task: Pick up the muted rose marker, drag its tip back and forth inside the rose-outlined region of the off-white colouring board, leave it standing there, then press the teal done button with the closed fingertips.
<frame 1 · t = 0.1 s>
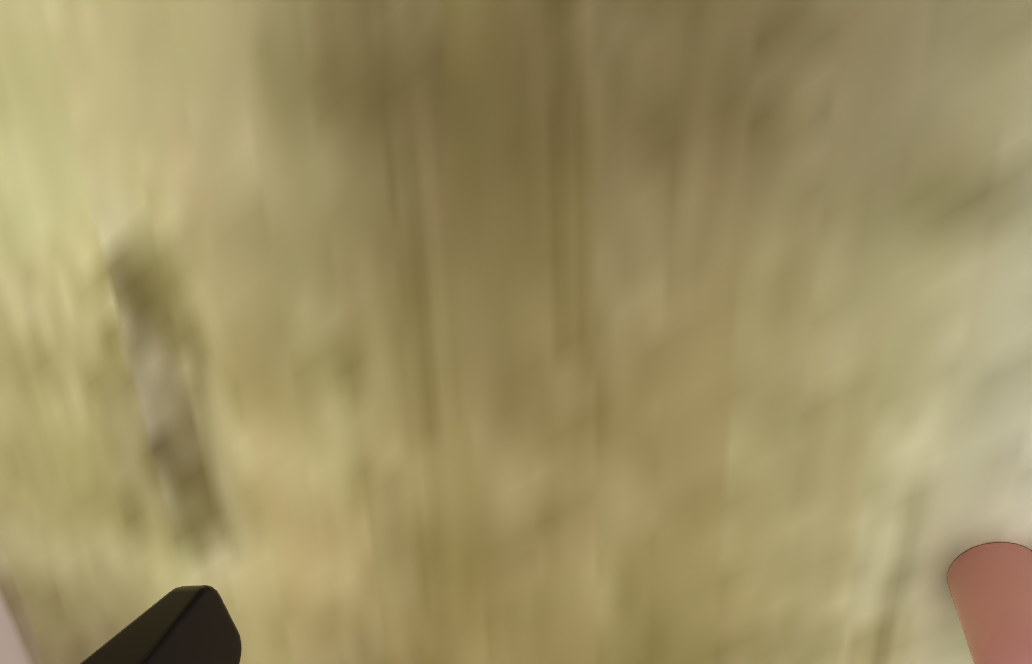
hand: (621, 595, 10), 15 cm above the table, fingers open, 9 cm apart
rose marker: (995, 575, 27), on the table
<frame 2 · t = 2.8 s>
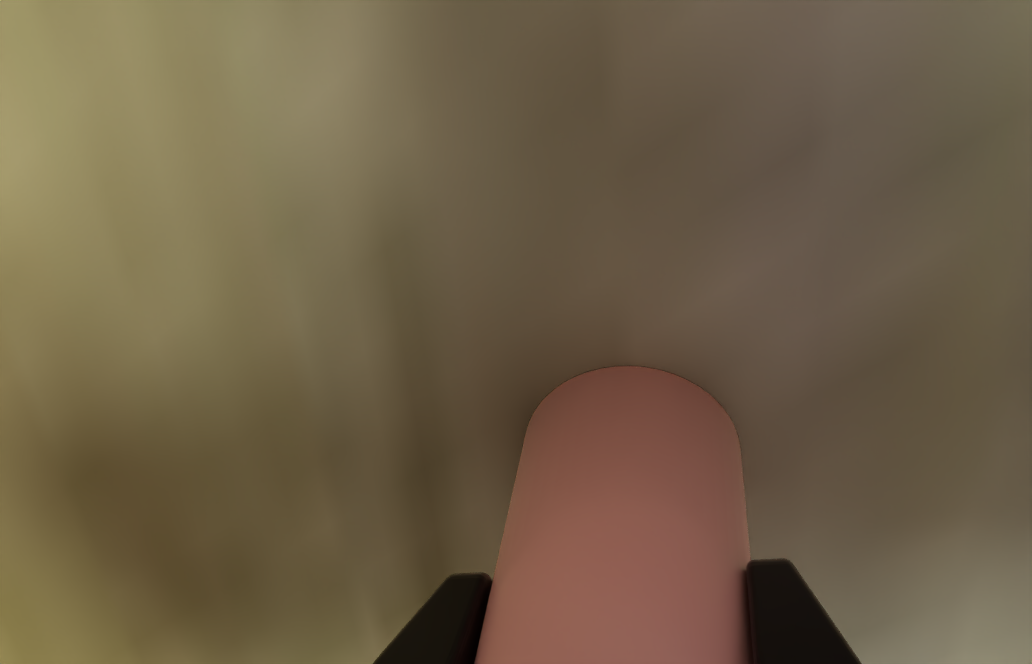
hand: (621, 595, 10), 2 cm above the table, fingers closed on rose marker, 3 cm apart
rose marker: (630, 455, 11), on the table, touching gripper
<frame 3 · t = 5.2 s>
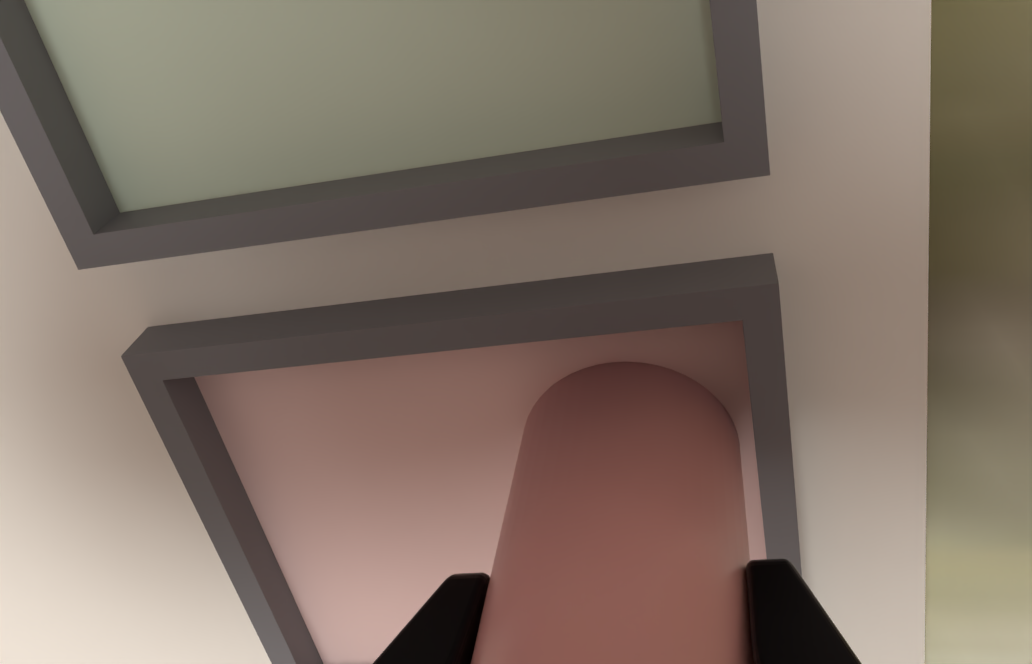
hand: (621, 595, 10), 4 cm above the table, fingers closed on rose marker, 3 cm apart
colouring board: (238, 275, 13), on the table
rose marker: (629, 452, 11), point 2 cm above the table, touching gripper
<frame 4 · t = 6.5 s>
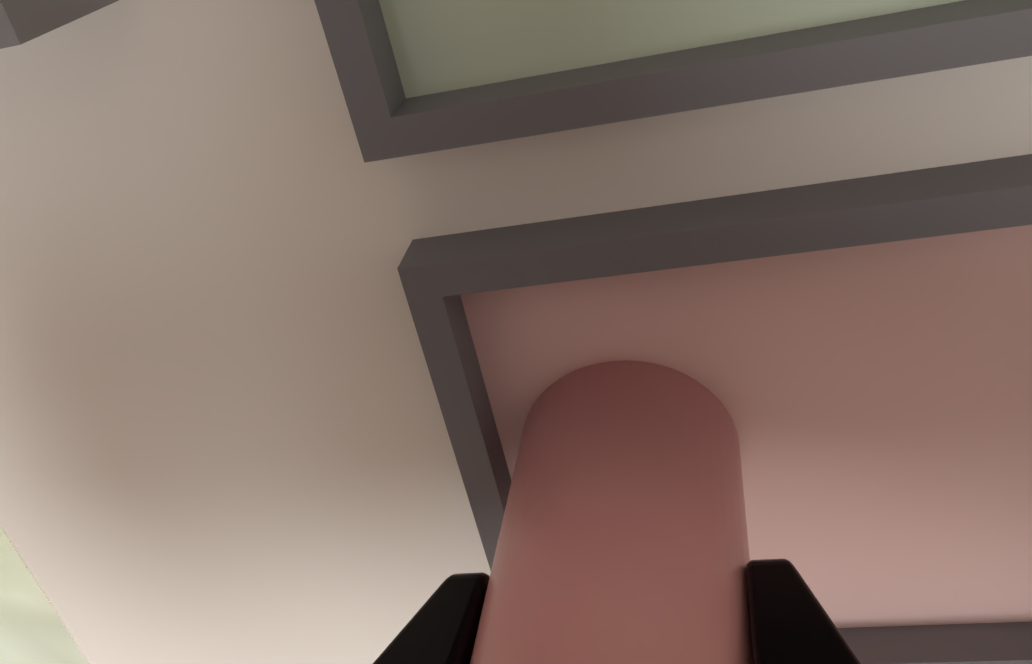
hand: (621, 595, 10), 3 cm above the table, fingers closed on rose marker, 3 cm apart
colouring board: (501, 185, 11), on the table
rose marker: (629, 450, 11), point 1 cm above the table, touching gripper
when the fingers open (4 cm above the table, at t = 7.8 s): rose marker stays where it is, resting on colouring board.
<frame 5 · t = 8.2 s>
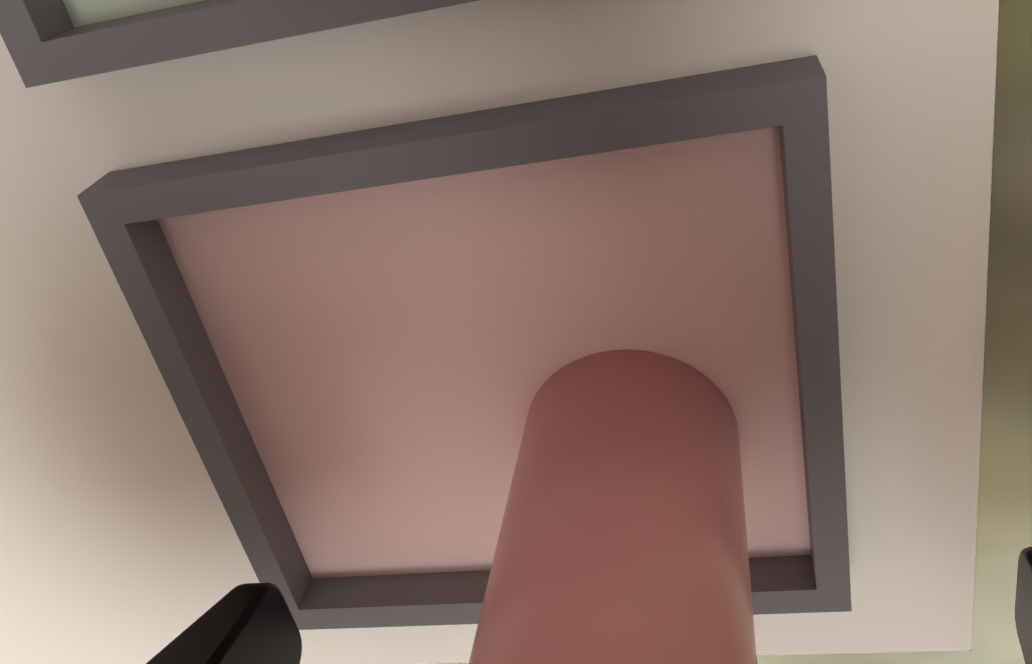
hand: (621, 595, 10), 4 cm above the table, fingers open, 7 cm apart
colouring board: (212, 122, 11), on the table
rose marker: (630, 438, 12), point 1 cm above the table, touching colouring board
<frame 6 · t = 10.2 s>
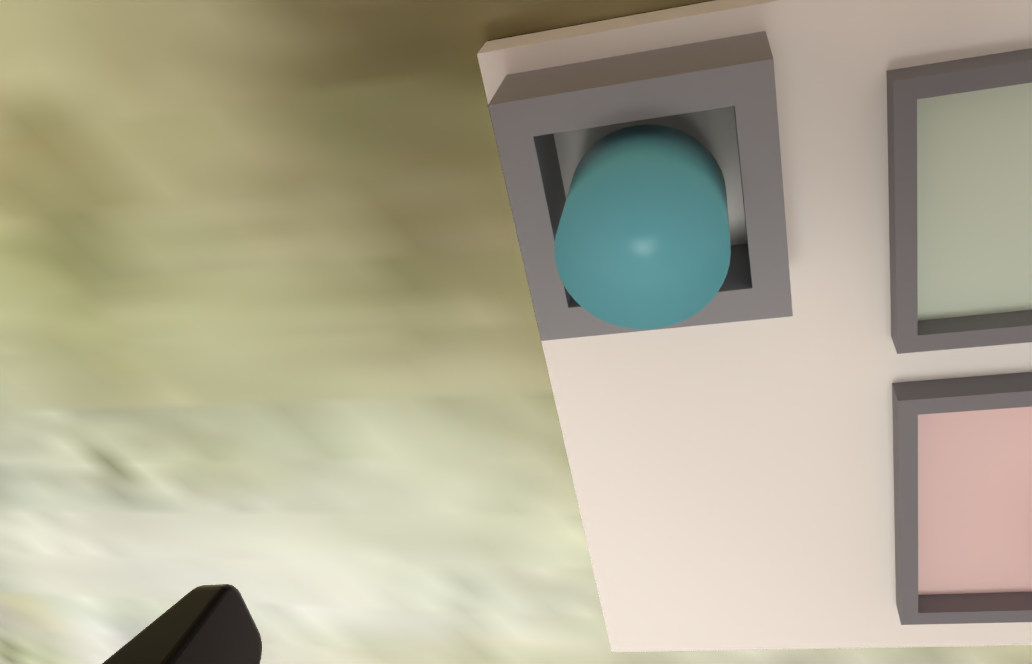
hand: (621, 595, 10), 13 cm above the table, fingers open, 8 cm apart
done button: (644, 225, 17), point 3 cm above the table, slide at 0.0 cm
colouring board: (926, 351, 21), on the table
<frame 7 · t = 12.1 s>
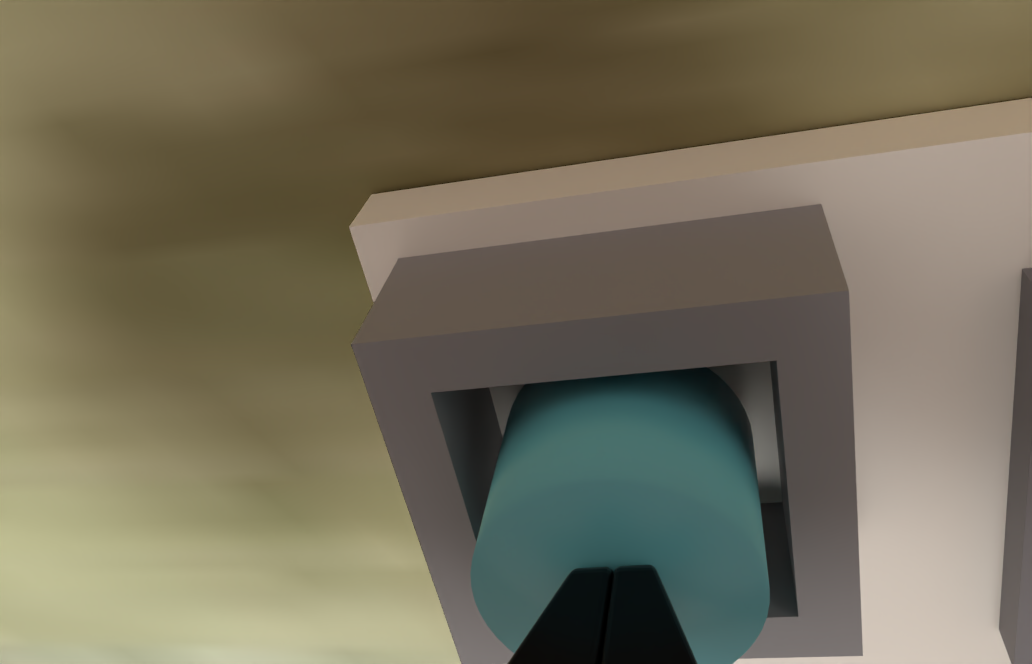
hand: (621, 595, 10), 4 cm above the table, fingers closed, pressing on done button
done button: (622, 513, 10), point 3 cm above the table, slide at 0.5 cm, touching gripper
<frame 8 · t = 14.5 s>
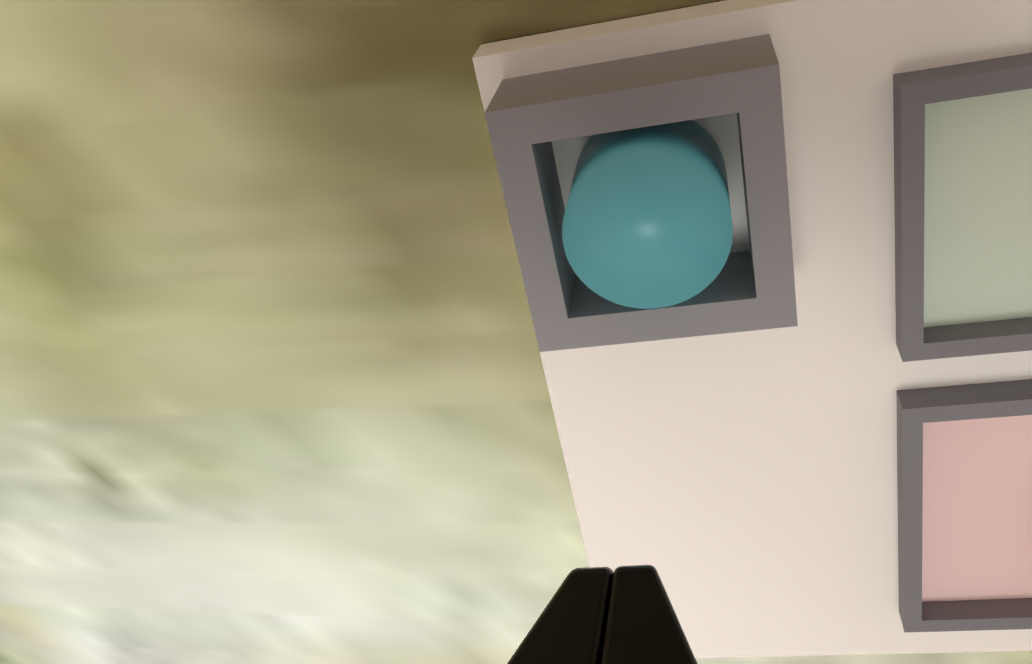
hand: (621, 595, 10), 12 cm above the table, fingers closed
done button: (648, 207, 18), point 2 cm above the table, slide at 1.2 cm
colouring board: (930, 357, 21), on the table
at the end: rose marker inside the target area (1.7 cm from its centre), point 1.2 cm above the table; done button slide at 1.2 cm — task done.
